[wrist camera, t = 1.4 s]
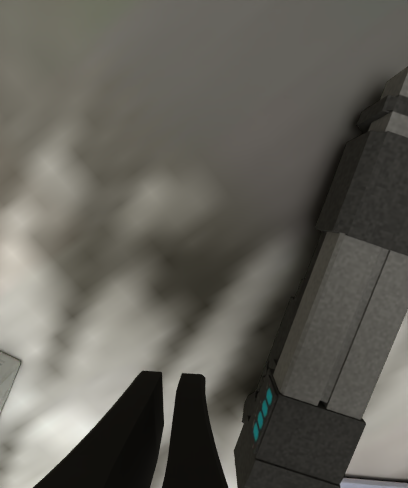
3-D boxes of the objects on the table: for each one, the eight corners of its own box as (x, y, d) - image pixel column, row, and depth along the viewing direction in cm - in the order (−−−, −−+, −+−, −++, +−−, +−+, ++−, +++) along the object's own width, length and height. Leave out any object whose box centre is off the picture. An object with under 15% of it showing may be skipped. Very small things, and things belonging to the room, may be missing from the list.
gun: (220, 414, 21) (244, 561, 11) (306, 146, 22) (401, 54, 12) (281, 433, 21) (361, 597, 11) (364, 166, 22) (509, 92, 12)
